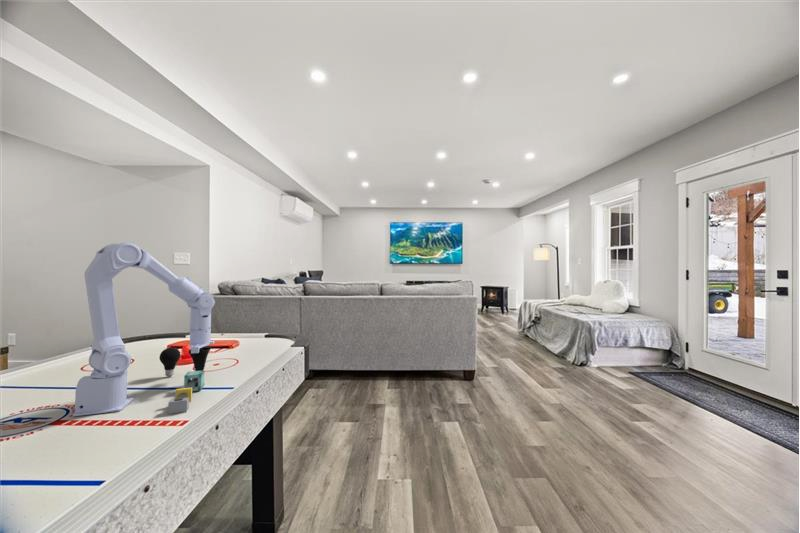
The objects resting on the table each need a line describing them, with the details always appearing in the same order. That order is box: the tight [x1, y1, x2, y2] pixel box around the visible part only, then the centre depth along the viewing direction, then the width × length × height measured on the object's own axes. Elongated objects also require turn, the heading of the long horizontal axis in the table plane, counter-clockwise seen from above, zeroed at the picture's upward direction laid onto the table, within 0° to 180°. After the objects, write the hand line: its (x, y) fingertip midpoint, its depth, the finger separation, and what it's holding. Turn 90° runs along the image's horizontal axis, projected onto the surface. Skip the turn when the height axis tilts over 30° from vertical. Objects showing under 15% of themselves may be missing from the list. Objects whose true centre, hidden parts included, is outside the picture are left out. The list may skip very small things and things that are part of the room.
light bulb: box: [159, 347, 181, 378], centre depth 108 cm, size 6×6×10 cm
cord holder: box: [167, 378, 198, 415], centre depth 90 cm, size 21×4×4 cm, turn 21°
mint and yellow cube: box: [183, 369, 205, 392], centre depth 96 cm, size 4×4×5 cm
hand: (199, 370), depth 102 cm, fingers closed
